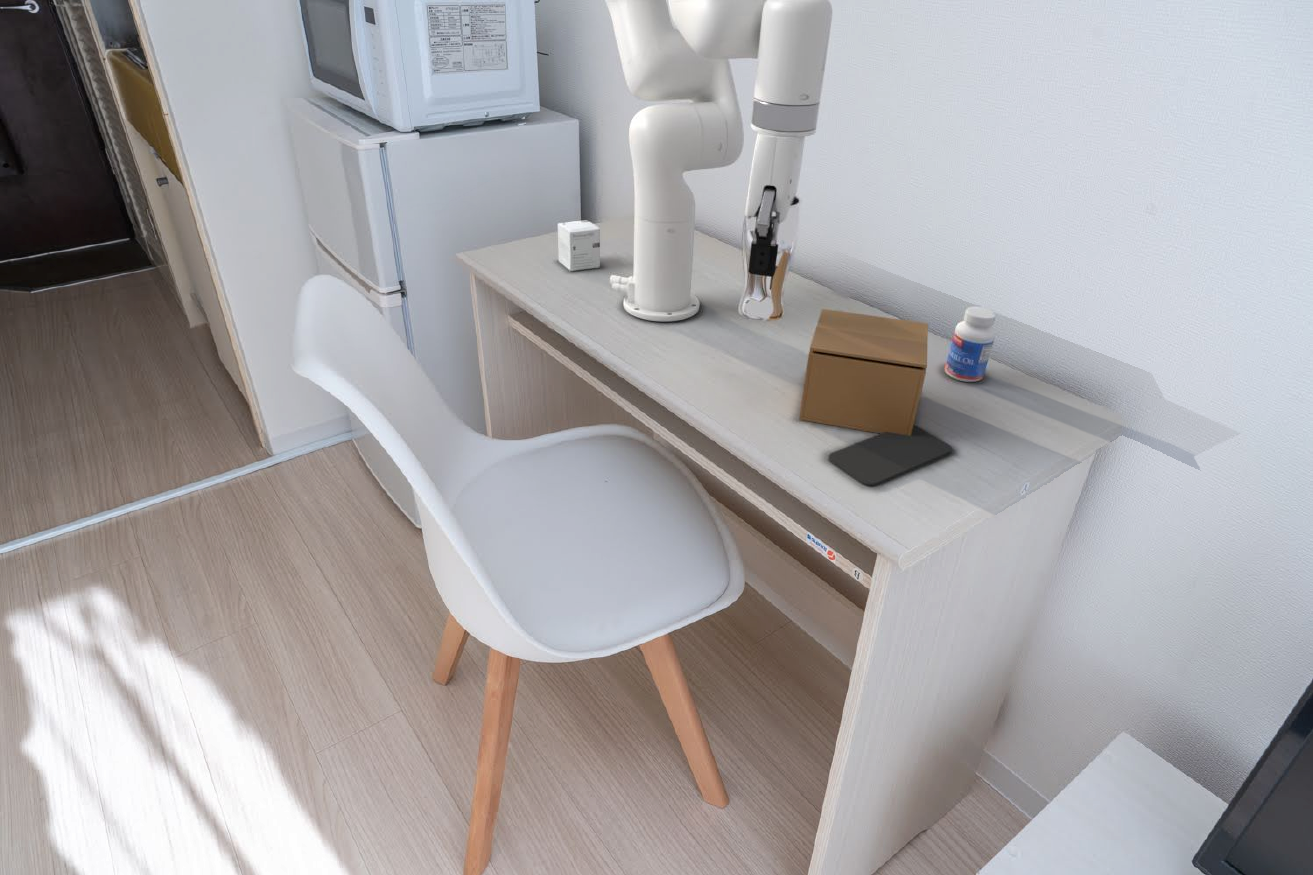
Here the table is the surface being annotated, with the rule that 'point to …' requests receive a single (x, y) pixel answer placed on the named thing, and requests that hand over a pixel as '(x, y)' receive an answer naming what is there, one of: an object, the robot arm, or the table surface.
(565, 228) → the white cardboard box
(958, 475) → the table surface
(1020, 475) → the table surface
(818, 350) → the carton
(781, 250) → the beer glass
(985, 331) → the pill bottle
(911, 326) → the flap
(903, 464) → the phone
